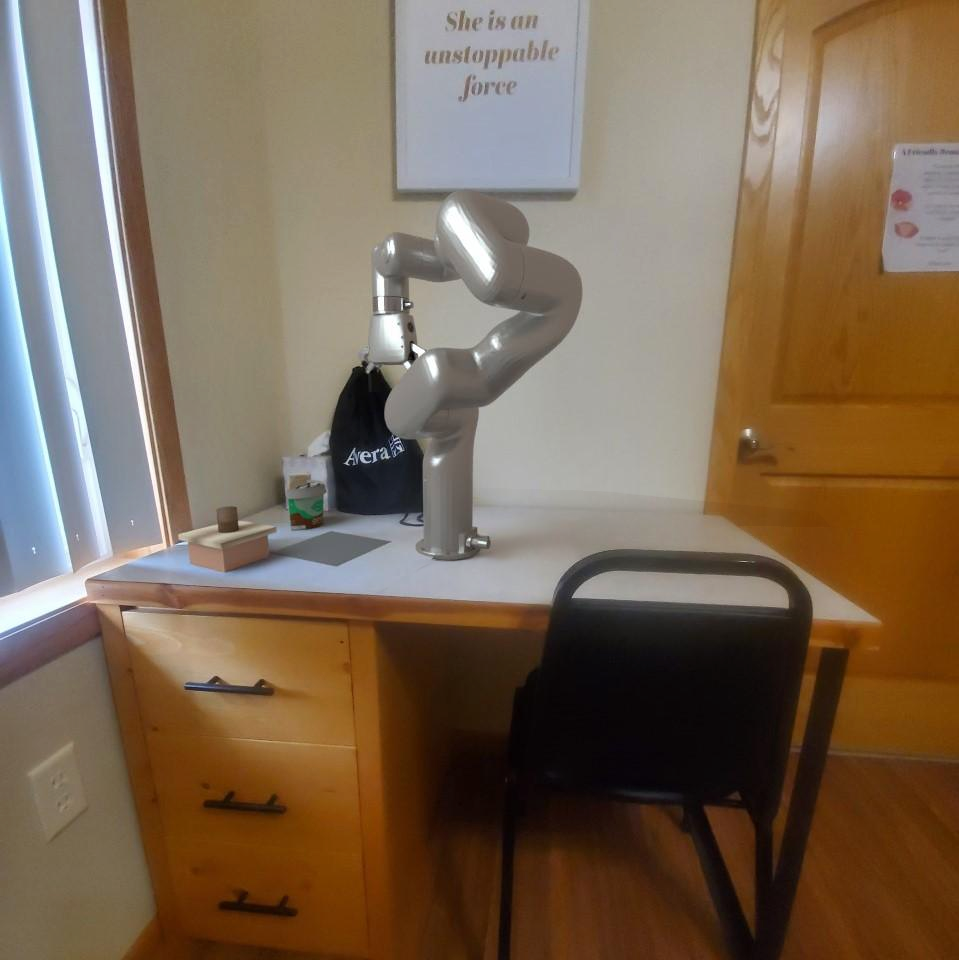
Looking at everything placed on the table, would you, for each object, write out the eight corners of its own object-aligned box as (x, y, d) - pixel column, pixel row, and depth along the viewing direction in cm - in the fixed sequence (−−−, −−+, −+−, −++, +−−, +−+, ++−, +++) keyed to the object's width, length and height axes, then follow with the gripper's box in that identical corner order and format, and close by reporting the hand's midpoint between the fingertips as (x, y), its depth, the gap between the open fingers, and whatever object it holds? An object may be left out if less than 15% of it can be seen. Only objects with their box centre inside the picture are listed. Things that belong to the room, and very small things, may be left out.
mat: (391, 544, 97) (391, 541, 97) (336, 569, 83) (336, 566, 83) (330, 533, 104) (330, 531, 104) (270, 555, 90) (270, 552, 90)
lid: (276, 532, 88) (274, 505, 87) (221, 549, 78) (219, 519, 77) (235, 524, 92) (233, 499, 92) (178, 539, 83) (175, 511, 82)
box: (290, 521, 114) (287, 475, 112) (288, 516, 118) (285, 472, 116) (313, 518, 117) (311, 473, 115) (310, 514, 120) (308, 470, 118)
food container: (317, 535, 103) (314, 489, 101) (288, 535, 103) (285, 489, 101) (335, 520, 115) (333, 479, 113) (310, 520, 115) (307, 479, 113)
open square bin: (269, 559, 88) (267, 532, 87) (225, 575, 80) (222, 546, 79) (235, 551, 92) (233, 526, 91) (190, 566, 84) (187, 539, 83)
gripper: (436, 309, 100) (436, 392, 103) (369, 314, 107) (371, 392, 110) (416, 303, 93) (417, 392, 96) (346, 309, 101) (349, 392, 104)
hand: (393, 392), depth 103 cm, fingers open, 9 cm apart
